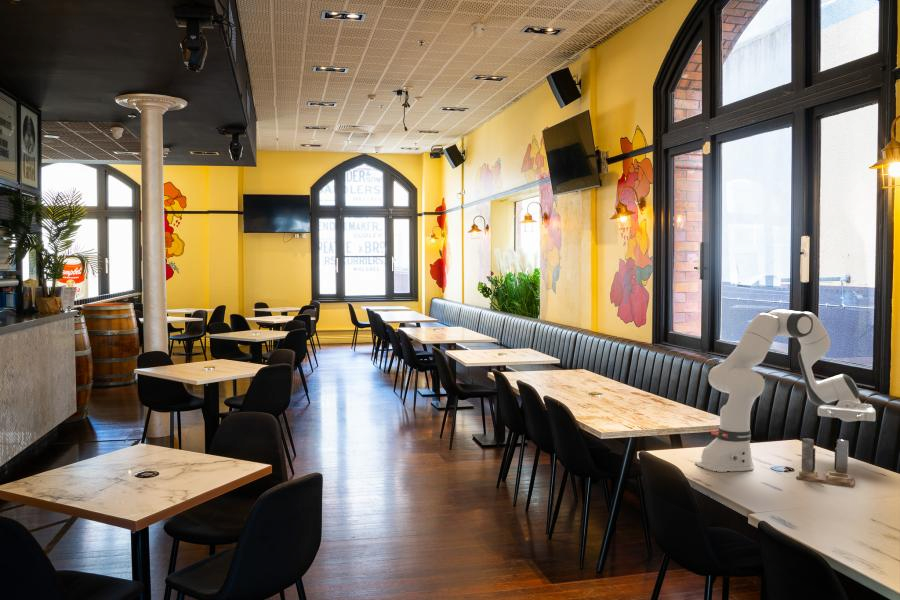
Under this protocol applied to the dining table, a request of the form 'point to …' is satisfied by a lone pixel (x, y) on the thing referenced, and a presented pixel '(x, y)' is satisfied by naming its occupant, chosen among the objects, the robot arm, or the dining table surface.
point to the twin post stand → (811, 474)
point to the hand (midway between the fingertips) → (844, 416)
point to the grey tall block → (841, 456)
